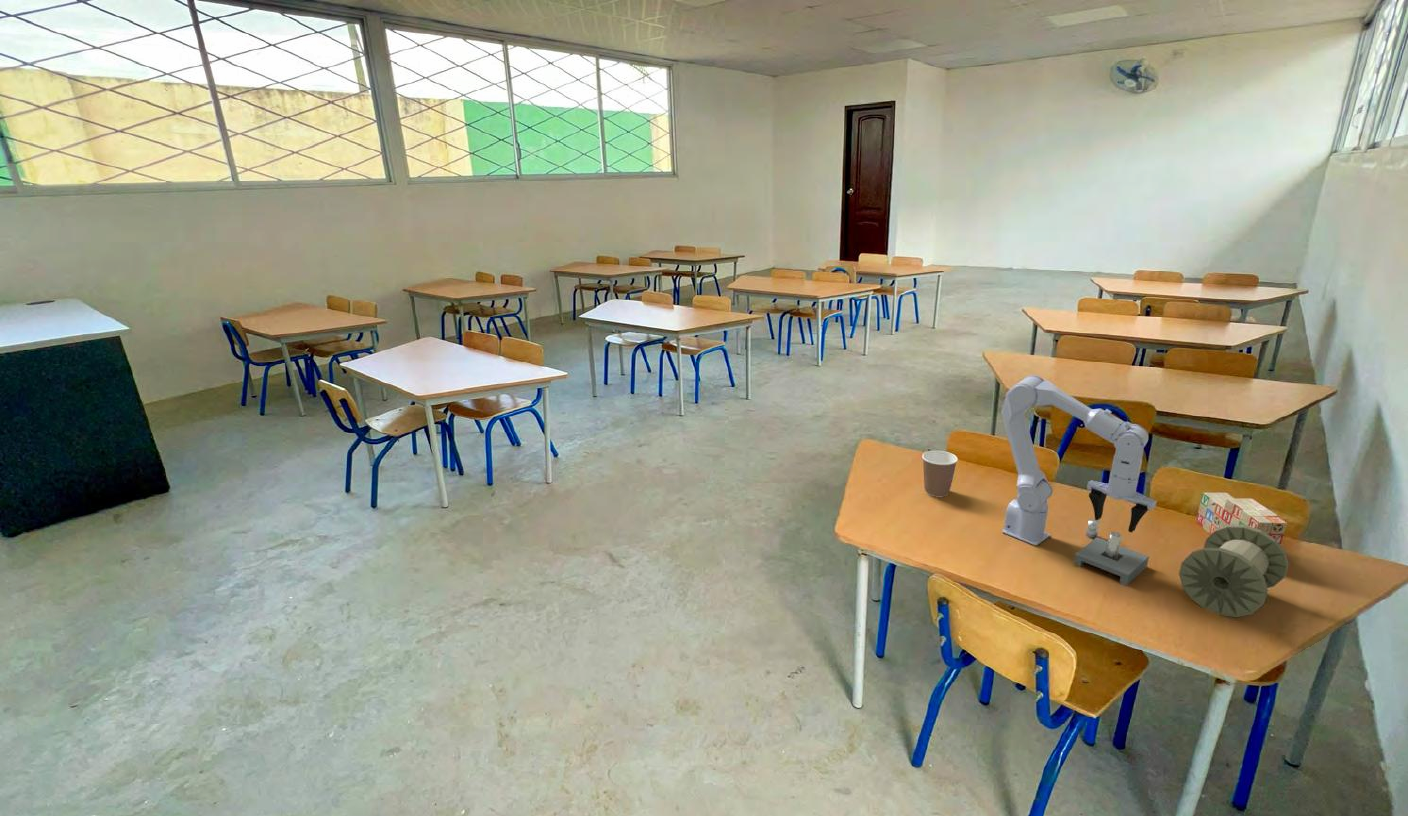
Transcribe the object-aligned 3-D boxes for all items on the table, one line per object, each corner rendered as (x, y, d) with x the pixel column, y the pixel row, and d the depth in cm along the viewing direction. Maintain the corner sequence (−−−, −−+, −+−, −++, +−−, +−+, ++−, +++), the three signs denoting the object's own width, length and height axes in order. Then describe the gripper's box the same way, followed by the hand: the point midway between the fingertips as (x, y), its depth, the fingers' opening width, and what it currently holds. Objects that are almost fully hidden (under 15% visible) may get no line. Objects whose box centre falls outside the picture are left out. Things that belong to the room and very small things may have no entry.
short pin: (1084, 535, 173) (1086, 521, 172) (1088, 532, 175) (1091, 518, 173) (1094, 539, 171) (1097, 525, 170) (1098, 536, 173) (1101, 521, 171)
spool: (1200, 569, 157) (1213, 515, 152) (1278, 598, 146) (1296, 541, 141) (1173, 596, 148) (1187, 539, 143) (1254, 629, 136) (1272, 568, 131)
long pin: (1101, 565, 160) (1107, 533, 157) (1107, 561, 161) (1113, 530, 158) (1111, 570, 158) (1118, 538, 155) (1117, 566, 159) (1124, 535, 156)
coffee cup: (959, 499, 195) (963, 463, 191) (925, 500, 195) (928, 464, 191) (947, 484, 205) (950, 449, 201) (915, 485, 205) (917, 451, 201)
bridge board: (1073, 564, 161) (1075, 553, 160) (1094, 547, 168) (1096, 537, 167) (1126, 585, 152) (1128, 575, 151) (1146, 566, 159) (1149, 556, 158)
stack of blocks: (1194, 522, 178) (1204, 482, 174) (1219, 522, 177) (1229, 482, 173) (1246, 565, 158) (1259, 521, 154) (1274, 566, 157) (1288, 522, 153)
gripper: (1085, 469, 157) (1076, 518, 162) (1151, 490, 146) (1140, 542, 151) (1098, 461, 161) (1089, 509, 166) (1164, 481, 150) (1152, 531, 155)
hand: (1114, 524), depth 159 cm, fingers open, 7 cm apart
